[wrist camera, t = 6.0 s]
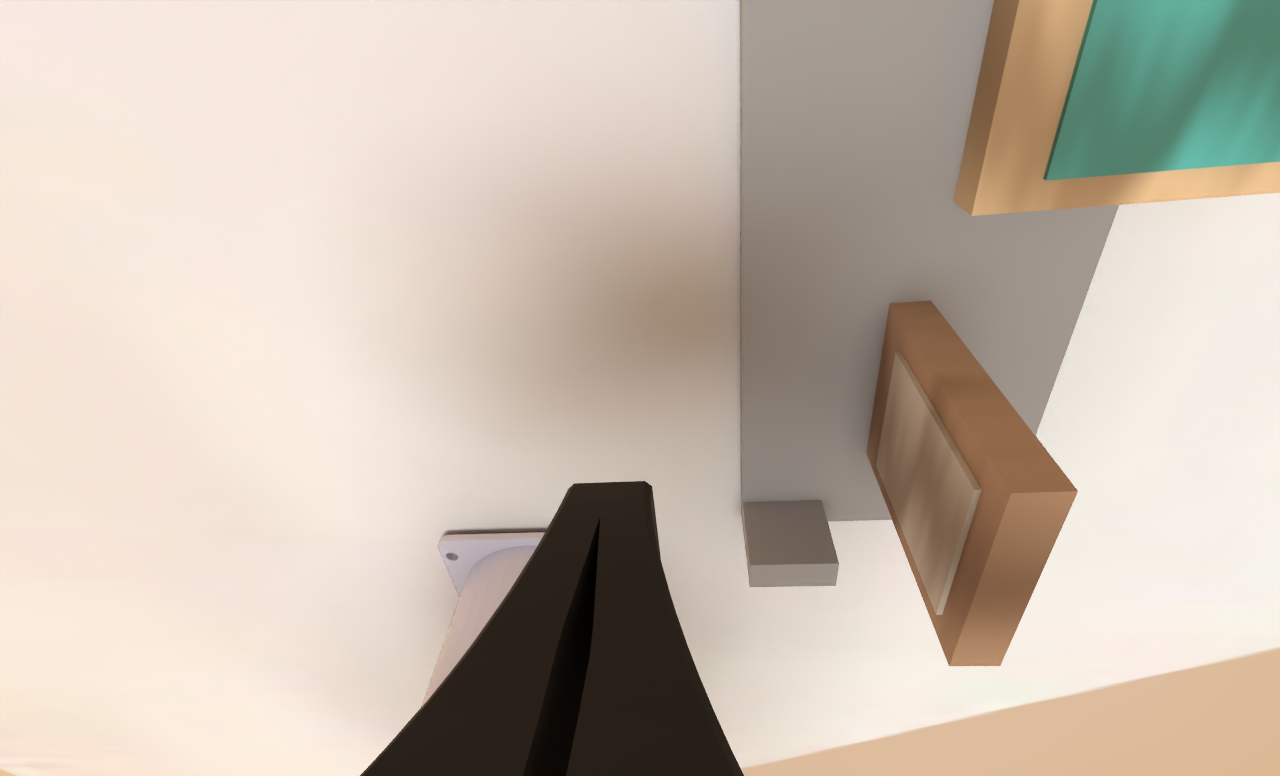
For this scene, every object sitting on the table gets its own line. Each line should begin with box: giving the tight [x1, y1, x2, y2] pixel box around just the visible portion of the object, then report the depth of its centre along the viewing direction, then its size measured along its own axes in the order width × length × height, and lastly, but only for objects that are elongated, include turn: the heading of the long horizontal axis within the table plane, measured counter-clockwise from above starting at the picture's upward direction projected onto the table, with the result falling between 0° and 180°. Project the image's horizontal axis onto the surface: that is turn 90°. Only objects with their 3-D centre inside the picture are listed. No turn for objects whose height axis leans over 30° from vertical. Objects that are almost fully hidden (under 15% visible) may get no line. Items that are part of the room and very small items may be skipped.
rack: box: [741, 0, 1119, 587], centre depth 16 cm, size 22×10×4 cm, turn 6°
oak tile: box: [954, 0, 1280, 216], centre depth 13 cm, size 6×1×8 cm
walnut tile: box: [866, 301, 1078, 666], centre depth 16 cm, size 6×1×8 cm, turn 6°
